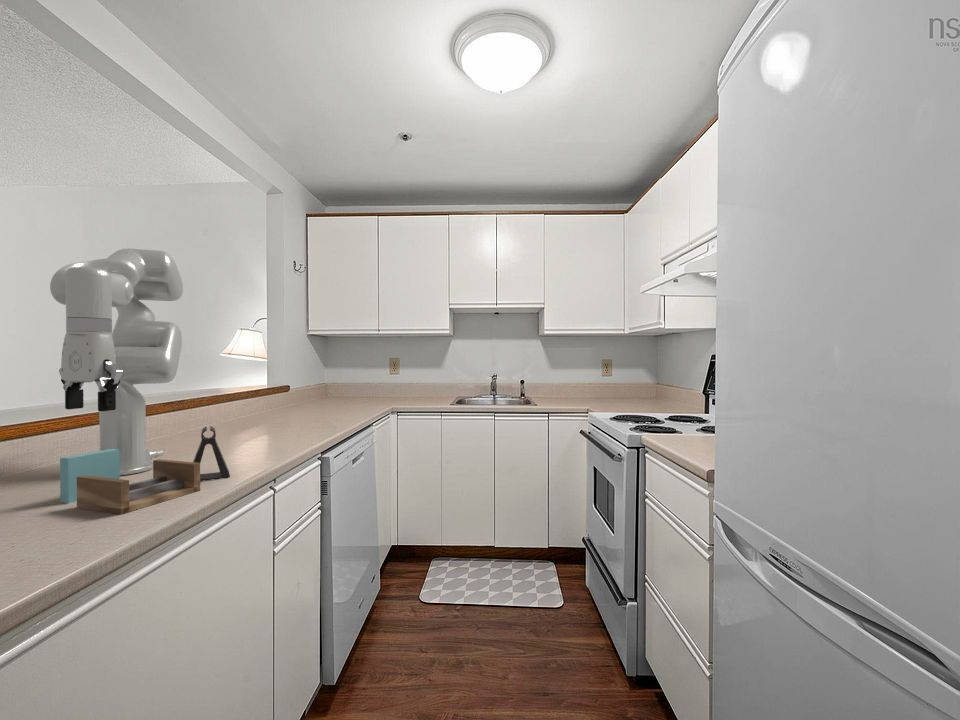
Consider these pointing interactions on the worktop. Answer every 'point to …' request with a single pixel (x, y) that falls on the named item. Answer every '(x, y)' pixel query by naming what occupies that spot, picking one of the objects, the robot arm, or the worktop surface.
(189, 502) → the worktop surface
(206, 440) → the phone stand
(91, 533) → the worktop surface
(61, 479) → the door panel
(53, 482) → the worktop surface
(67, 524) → the worktop surface
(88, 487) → the cabinet track
